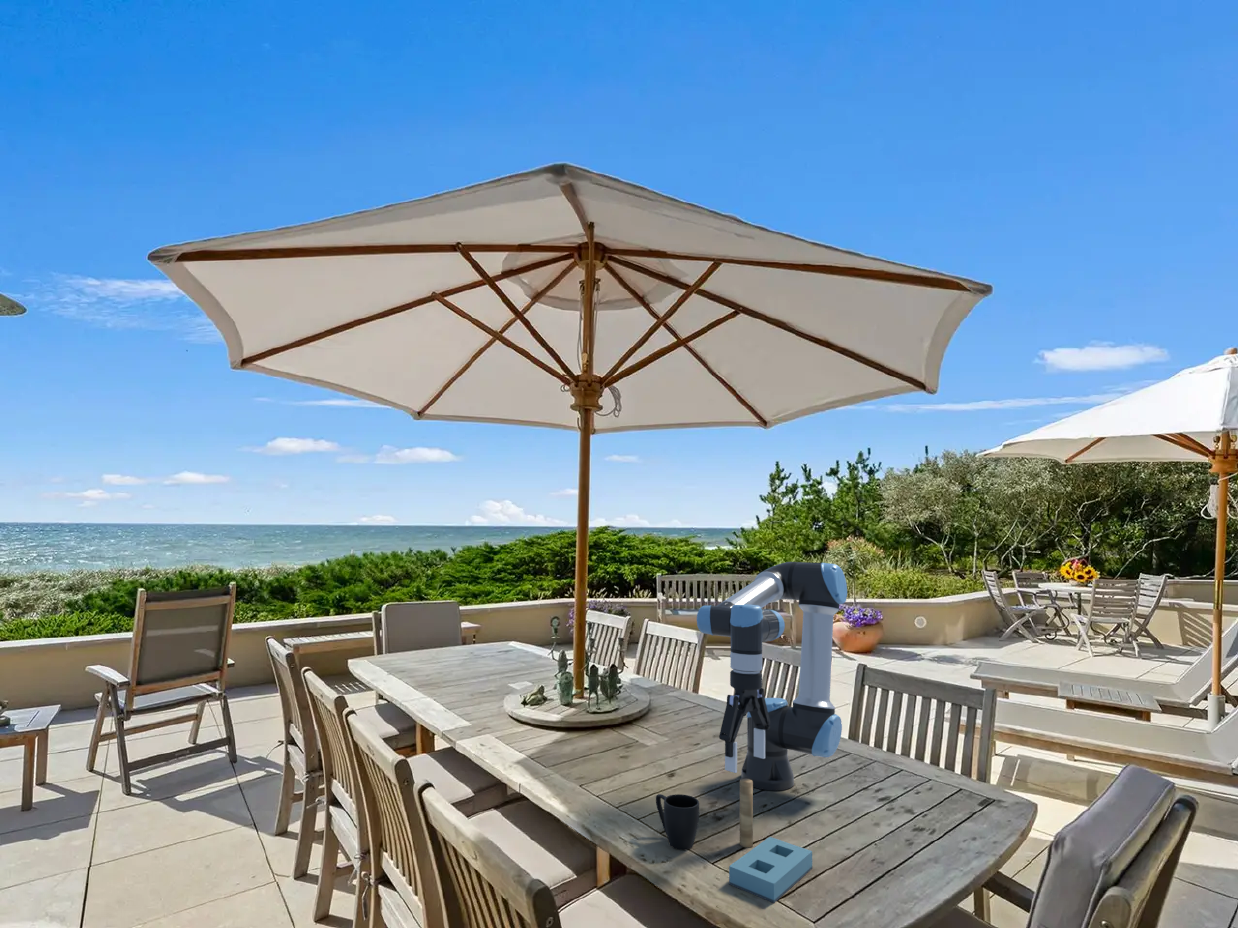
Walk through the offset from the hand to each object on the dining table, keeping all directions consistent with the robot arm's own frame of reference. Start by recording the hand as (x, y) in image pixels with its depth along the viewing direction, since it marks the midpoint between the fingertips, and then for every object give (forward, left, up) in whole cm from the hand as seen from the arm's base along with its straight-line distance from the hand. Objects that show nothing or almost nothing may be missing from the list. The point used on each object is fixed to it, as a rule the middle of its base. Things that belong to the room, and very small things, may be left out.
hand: (745, 763), depth 150 cm
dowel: (0, 0, -18) cm, 18 cm away
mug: (+10, -13, -18) cm, 24 cm away
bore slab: (+9, +11, -18) cm, 23 cm away
